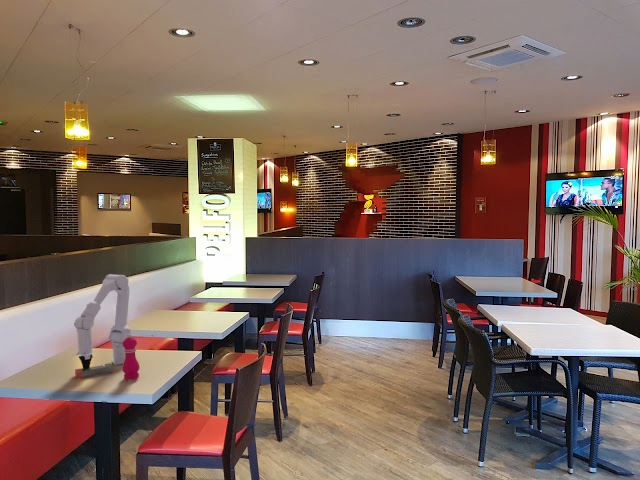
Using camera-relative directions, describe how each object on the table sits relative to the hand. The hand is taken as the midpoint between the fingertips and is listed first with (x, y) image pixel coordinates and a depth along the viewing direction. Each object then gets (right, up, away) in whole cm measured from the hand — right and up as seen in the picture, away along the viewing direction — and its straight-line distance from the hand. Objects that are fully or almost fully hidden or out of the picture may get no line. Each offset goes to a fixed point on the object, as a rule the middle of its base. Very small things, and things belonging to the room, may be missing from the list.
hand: (86, 370), depth 228 cm
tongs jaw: (+2, -1, -1) cm, 2 cm away
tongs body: (+4, -1, -1) cm, 5 cm away
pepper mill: (+24, -2, -7) cm, 25 cm away
